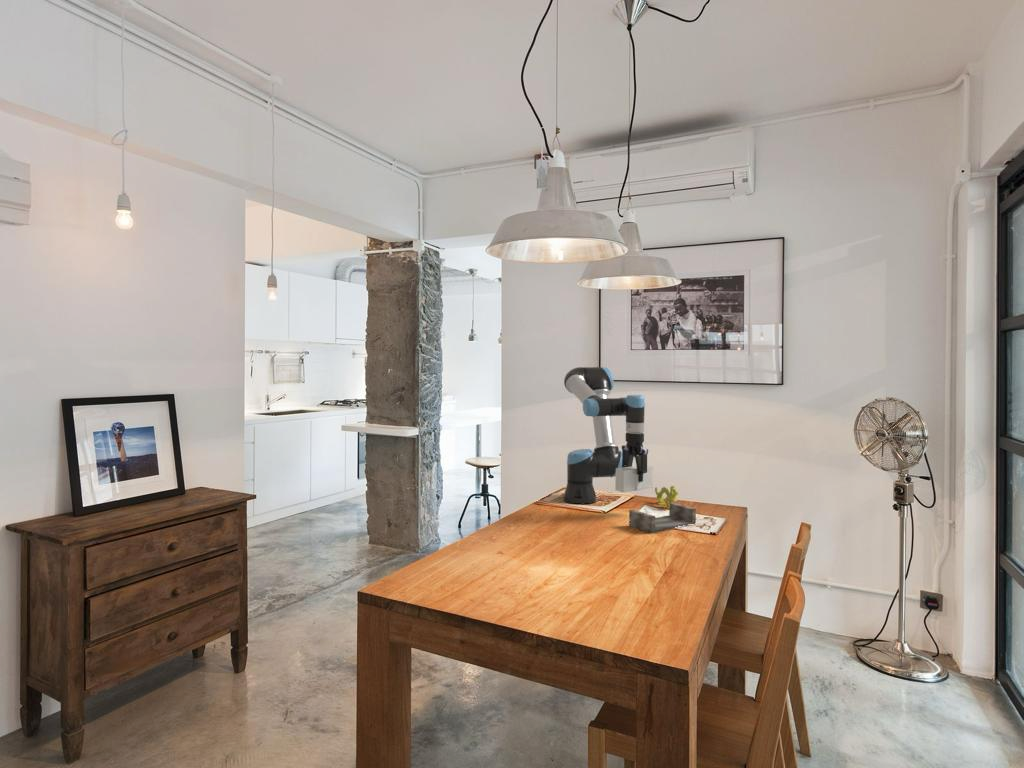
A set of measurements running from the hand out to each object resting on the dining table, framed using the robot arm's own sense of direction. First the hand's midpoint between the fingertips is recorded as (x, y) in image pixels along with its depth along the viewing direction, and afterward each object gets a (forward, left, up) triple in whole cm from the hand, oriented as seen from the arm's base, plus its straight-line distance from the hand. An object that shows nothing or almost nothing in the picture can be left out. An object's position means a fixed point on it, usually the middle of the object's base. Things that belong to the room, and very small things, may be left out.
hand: (634, 487), depth 248 cm
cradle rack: (+16, 0, -12) cm, 20 cm away
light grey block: (0, 0, 0) cm, 0 cm away
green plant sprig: (-6, +24, -12) cm, 27 cm away
